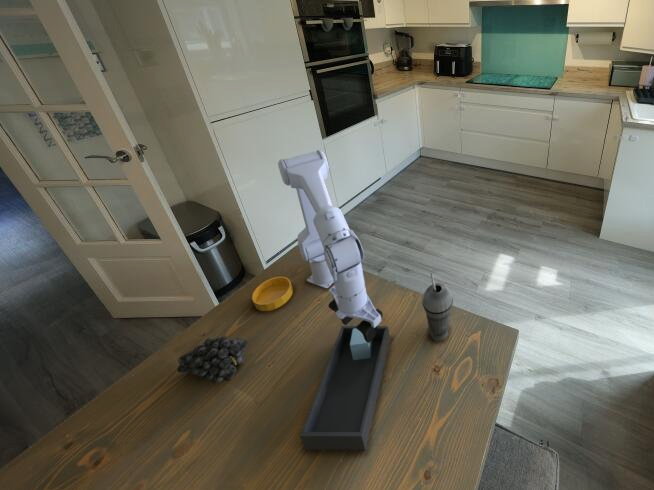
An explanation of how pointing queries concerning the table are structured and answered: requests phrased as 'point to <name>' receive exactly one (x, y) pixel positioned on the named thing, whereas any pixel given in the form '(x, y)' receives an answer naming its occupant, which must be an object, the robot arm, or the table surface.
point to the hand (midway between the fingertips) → (359, 330)
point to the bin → (346, 396)
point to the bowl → (272, 293)
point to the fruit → (214, 359)
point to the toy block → (360, 346)
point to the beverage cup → (437, 309)
